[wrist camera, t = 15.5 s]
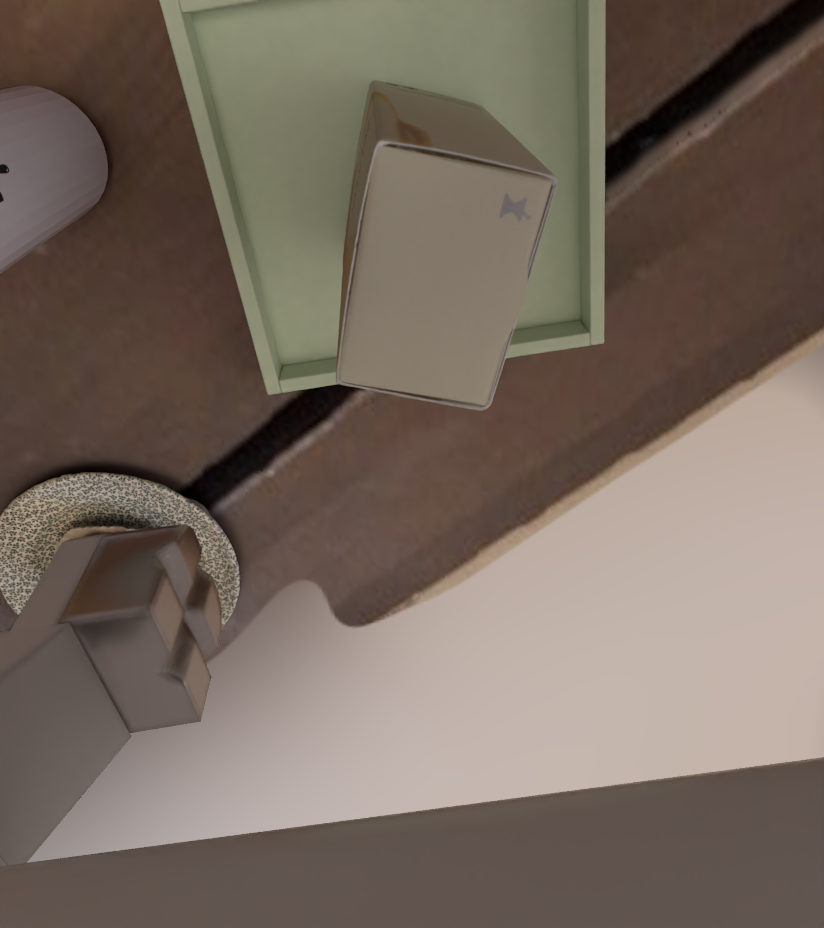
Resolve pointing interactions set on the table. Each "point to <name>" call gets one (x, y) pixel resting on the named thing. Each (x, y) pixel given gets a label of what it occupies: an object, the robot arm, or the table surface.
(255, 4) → the tray
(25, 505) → the grey speckled shallow bowl
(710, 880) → the robot arm
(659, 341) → the table surface
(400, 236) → the cosmetic box
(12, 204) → the perfume bottle
